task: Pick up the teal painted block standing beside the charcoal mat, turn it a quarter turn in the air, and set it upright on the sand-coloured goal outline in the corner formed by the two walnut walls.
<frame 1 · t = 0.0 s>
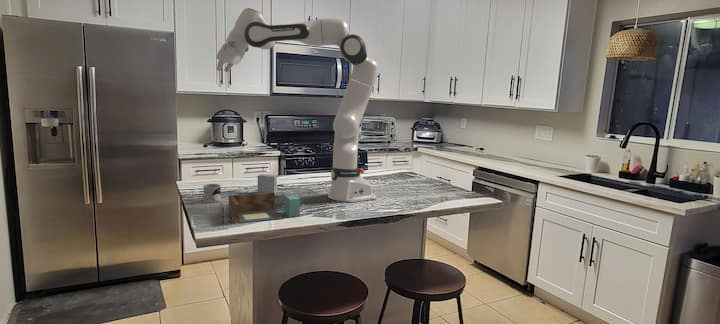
hand: (222, 70, 183), 54 cm above the countertop, tool tilted 30°, fingers open, 8 cm apart
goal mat: (258, 216, 157), on the countertop
teal block: (291, 214, 162), on the countertop
medicine box: (267, 193, 192), on the countertop
corner walls: (258, 216, 157), resting in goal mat
mug: (214, 200, 176), on the countertop
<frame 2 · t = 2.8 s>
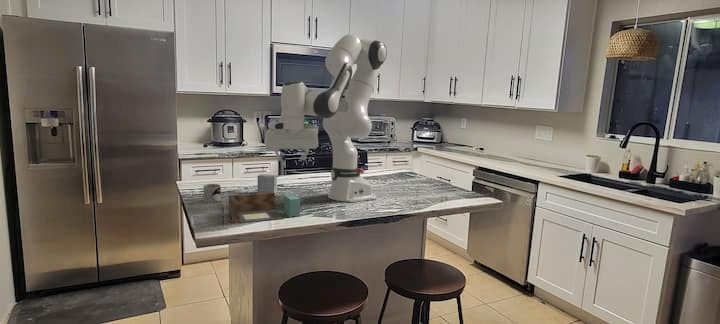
hand: (291, 160, 159), 21 cm above the countertop, tool pointing down, fingers open, 8 cm apart
nothing on the countertop moved.
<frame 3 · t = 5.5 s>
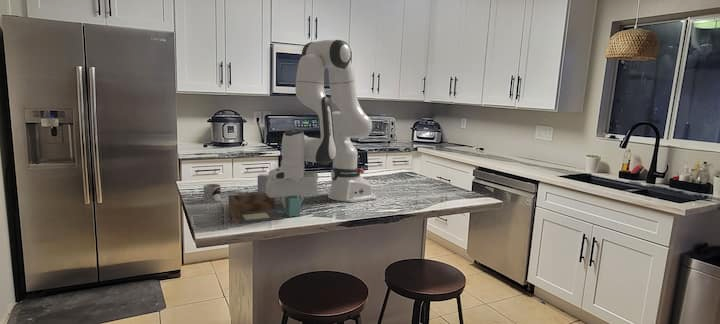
hand: (292, 206, 162), 3 cm above the countertop, tool pointing down, fingers closed on teal block, 4 cm apart
teal block: (291, 214, 162), on the countertop, touching gripper
everything else where it was.
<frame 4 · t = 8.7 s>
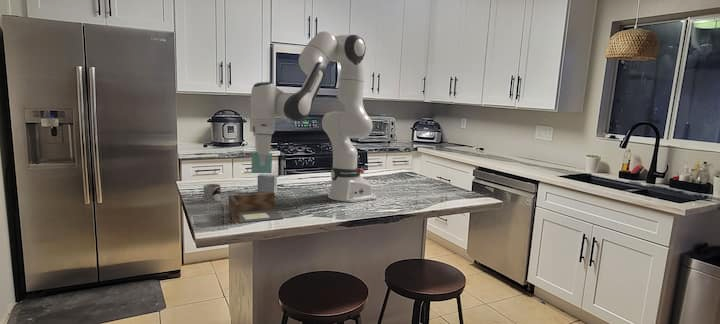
hand: (261, 164, 153), 20 cm above the countertop, tool pointing down, fingers closed on teal block, 4 cm apart
teal block: (261, 172, 154), point 17 cm above the countertop, touching gripper
everything else where it was.
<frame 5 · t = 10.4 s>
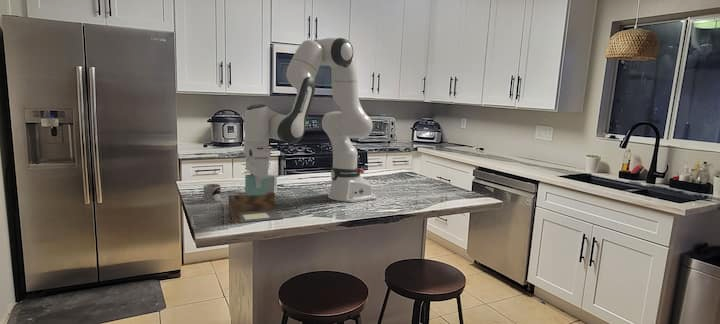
hand: (255, 186, 154), 12 cm above the countertop, tool pointing down, fingers closed on teal block, 4 cm apart
teal block: (255, 193, 154), point 9 cm above the countertop, touching gripper
everything else where it was.
when the fingers open (5 cm above the countertop, at t = 12.0 s): teal block drops 1 cm, resting on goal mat.
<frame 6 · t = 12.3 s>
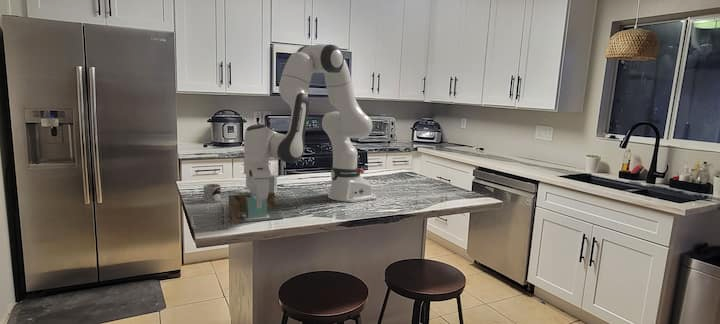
hand: (256, 205, 155), 5 cm above the countertop, tool pointing down, fingers open, 6 cm apart
teal block: (256, 216, 156), resting on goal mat
everything else where it was.
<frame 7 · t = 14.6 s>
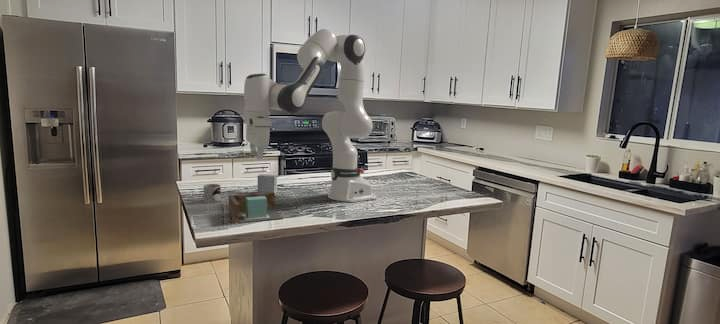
hand: (256, 156, 152), 23 cm above the countertop, tool pointing down, fingers open, 8 cm apart
nothing on the countertop moved.
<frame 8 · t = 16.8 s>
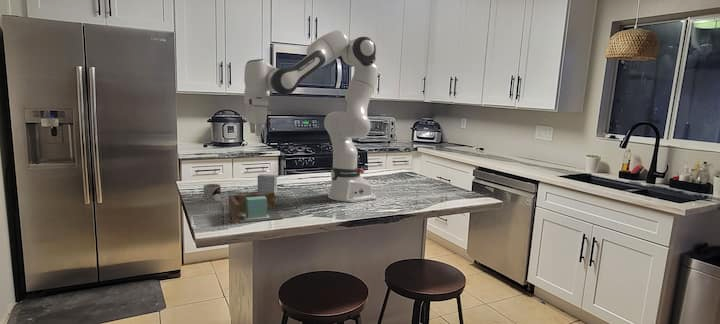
hand: (255, 134, 169), 29 cm above the countertop, tool pointing down, fingers open, 8 cm apart
nothing on the countertop moved.
at the end: teal block 0.1 cm from the target spot on the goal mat, point 0.5 cm above the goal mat's base; teal block tilted 0°; the gripper is holding nothing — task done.
